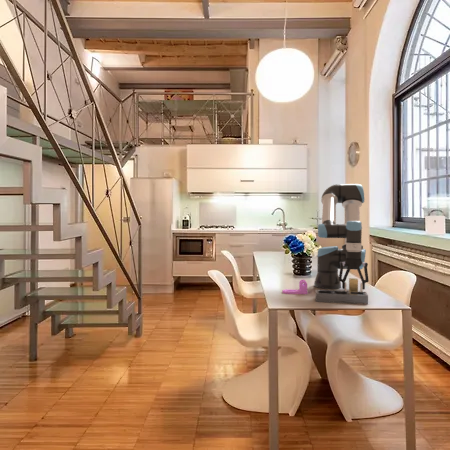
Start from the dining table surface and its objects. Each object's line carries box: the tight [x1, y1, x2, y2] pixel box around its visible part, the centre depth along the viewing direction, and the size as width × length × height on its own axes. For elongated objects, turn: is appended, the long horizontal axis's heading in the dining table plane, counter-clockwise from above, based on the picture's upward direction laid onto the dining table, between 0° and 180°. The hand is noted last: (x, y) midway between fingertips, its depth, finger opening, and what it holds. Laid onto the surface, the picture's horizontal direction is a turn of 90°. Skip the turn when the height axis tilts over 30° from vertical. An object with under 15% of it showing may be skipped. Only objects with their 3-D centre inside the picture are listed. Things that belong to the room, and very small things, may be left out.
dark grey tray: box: [315, 289, 369, 305], centre depth 193 cm, size 9×24×4 cm, turn 78°
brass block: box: [348, 277, 359, 292], centre depth 203 cm, size 4×4×9 cm
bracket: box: [281, 279, 308, 295], centre depth 213 cm, size 13×6×7 cm, turn 84°
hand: (353, 295), depth 203 cm, fingers open, 7 cm apart
